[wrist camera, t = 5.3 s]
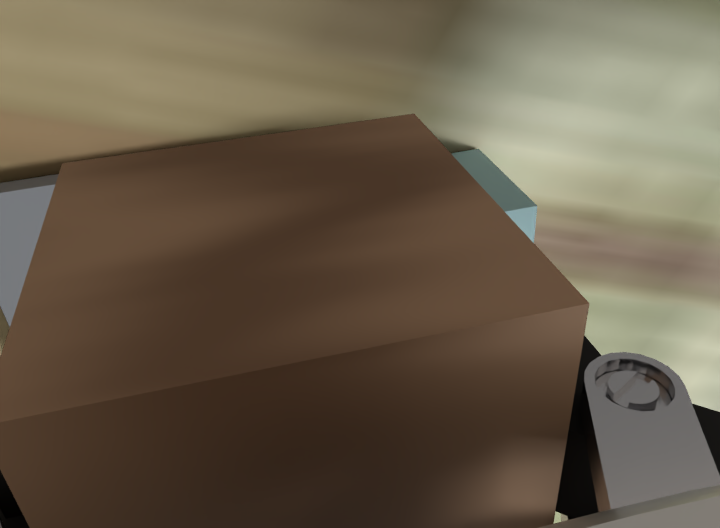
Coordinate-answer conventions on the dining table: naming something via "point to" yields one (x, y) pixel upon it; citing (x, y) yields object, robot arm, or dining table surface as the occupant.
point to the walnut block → (287, 342)
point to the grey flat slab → (20, 233)
